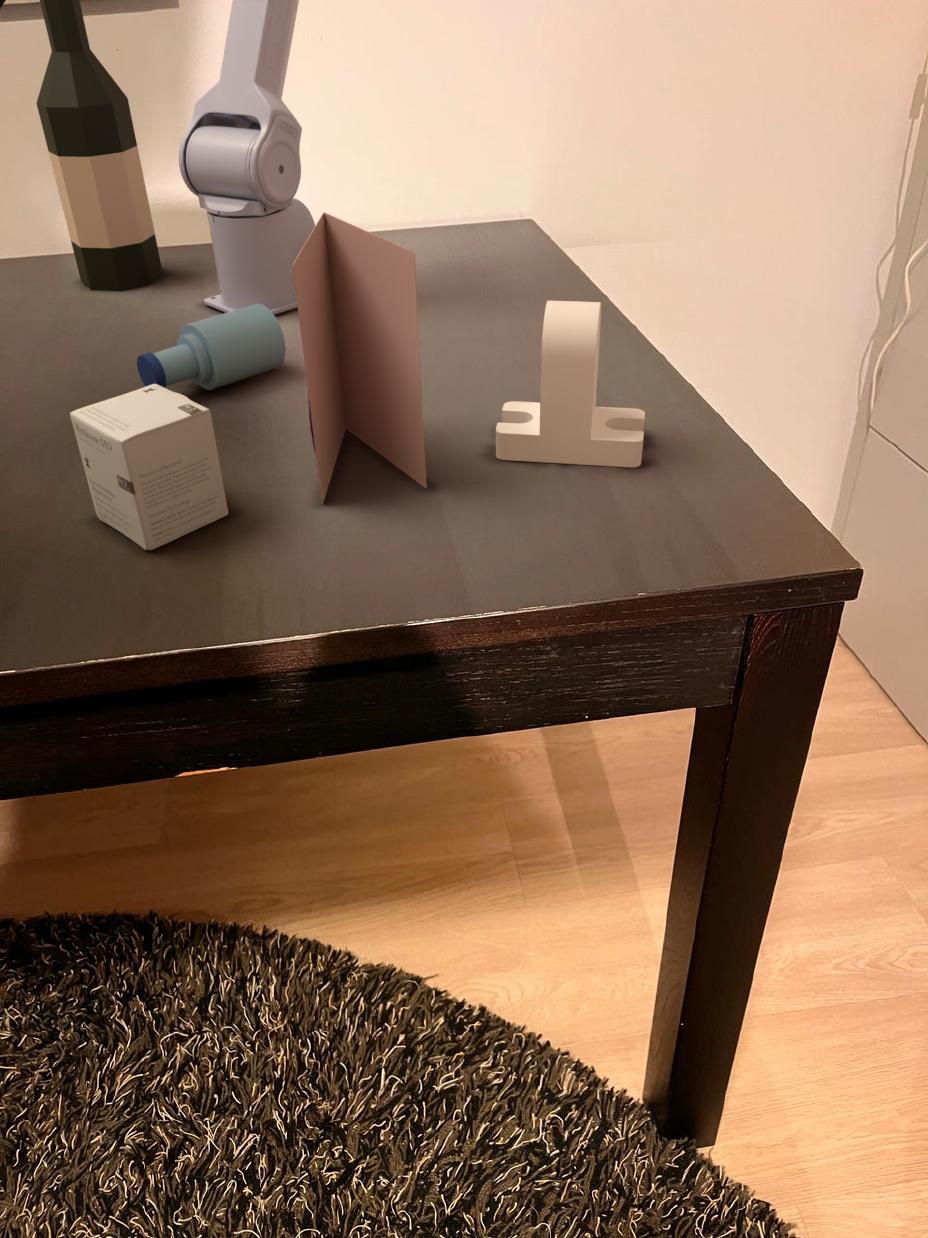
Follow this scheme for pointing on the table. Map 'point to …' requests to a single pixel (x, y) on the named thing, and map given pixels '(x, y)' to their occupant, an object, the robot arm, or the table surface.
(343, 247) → the greeting card
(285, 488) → the table surface
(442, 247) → the table surface
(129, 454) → the product carton
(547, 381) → the white mounting bracket
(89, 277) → the wine bottle
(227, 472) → the table surface
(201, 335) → the bottle
